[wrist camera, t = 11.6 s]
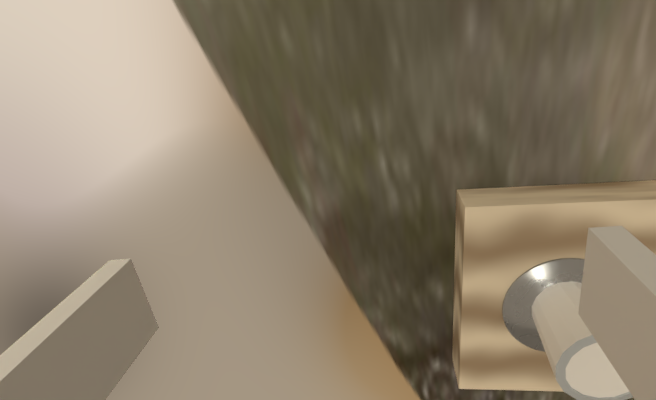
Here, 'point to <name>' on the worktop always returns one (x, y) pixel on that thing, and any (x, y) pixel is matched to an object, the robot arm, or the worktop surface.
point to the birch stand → (527, 269)
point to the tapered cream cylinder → (574, 346)
